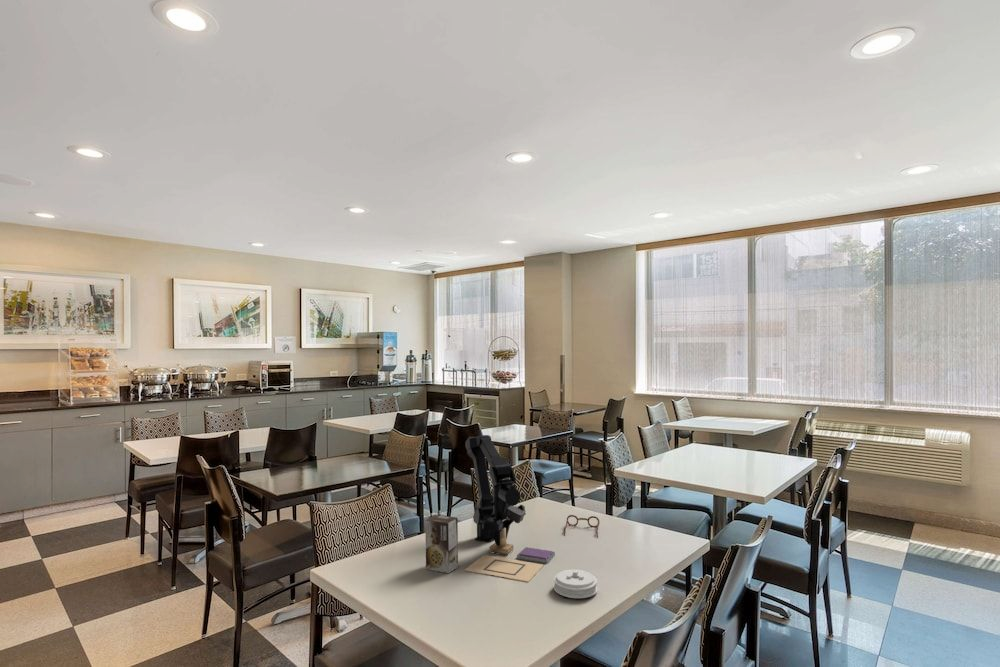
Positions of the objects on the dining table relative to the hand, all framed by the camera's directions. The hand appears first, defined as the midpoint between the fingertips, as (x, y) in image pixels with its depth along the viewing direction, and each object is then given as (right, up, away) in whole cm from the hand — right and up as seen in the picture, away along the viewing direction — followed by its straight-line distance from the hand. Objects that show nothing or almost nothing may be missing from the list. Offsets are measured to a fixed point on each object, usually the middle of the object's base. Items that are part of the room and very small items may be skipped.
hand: (501, 543), depth 189 cm
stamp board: (+1, -2, -15) cm, 15 cm away
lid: (+22, -2, -32) cm, 39 cm away
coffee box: (-20, -3, -14) cm, 24 cm away
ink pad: (+12, -3, -6) cm, 13 cm away
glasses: (+32, -4, +21) cm, 38 cm away
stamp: (0, -3, 0) cm, 3 cm away
